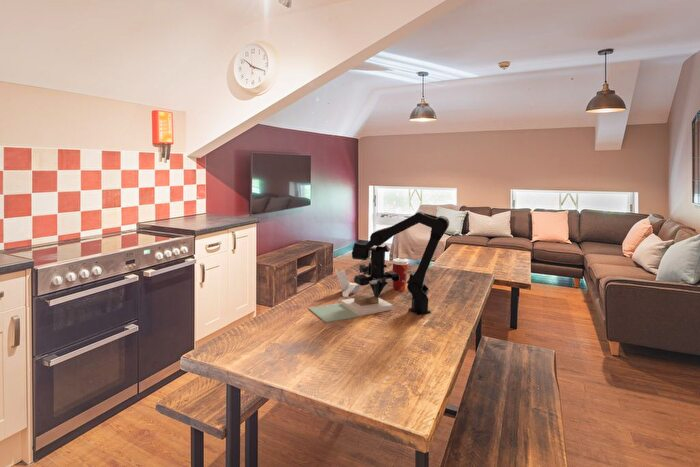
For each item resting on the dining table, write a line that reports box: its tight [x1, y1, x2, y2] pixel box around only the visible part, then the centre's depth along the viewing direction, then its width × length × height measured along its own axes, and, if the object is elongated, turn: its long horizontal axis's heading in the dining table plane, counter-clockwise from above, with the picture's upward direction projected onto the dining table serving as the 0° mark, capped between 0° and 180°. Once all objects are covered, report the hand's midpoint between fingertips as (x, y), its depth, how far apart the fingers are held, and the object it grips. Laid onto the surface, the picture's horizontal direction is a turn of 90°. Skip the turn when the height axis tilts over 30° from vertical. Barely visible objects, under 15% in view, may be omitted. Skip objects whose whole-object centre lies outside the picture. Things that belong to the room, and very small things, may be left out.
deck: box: [340, 294, 393, 317], centre depth 167 cm, size 14×16×2 cm
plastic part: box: [334, 268, 361, 298], centre depth 184 cm, size 8×10×12 cm
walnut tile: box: [353, 294, 379, 306], centre depth 167 cm, size 8×6×2 cm
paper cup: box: [391, 258, 410, 292], centre depth 192 cm, size 8×8×14 cm
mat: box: [308, 302, 360, 323], centre depth 160 cm, size 16×14×1 cm
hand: (376, 298), depth 169 cm, fingers closed
